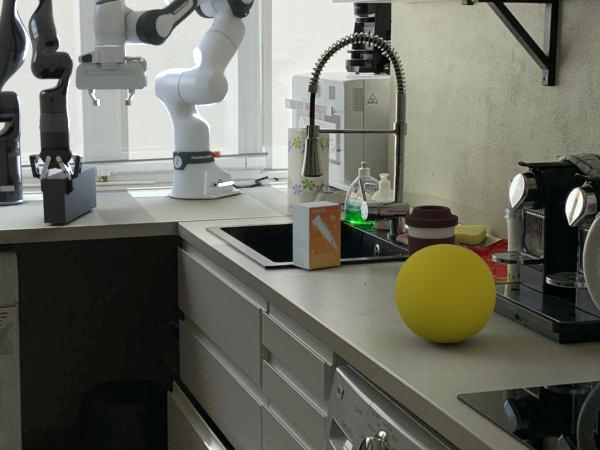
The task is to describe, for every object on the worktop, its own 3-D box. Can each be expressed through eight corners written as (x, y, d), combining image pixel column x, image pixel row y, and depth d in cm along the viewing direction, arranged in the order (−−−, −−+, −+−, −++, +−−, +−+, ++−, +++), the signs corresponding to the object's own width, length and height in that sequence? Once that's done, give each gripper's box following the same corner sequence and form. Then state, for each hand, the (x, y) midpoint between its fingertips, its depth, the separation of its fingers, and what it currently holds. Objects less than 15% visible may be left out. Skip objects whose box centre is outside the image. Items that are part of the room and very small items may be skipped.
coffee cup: (400, 280, 202) (400, 204, 200) (450, 279, 203) (451, 203, 201) (409, 292, 193) (410, 212, 190) (462, 291, 193) (463, 211, 191)
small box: (309, 270, 213) (308, 207, 211) (292, 265, 218) (291, 203, 216) (341, 265, 217) (341, 203, 215) (324, 260, 222) (323, 200, 220)
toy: (462, 323, 171) (464, 233, 168) (512, 348, 157) (515, 250, 154) (379, 333, 165) (379, 240, 163) (423, 359, 151) (424, 258, 149)
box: (65, 223, 271) (63, 178, 269) (44, 223, 271) (41, 178, 269) (96, 206, 298) (94, 166, 296) (76, 206, 299) (75, 166, 297)
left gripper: (86, 128, 273) (88, 192, 276) (32, 128, 275) (35, 192, 278) (77, 131, 266) (80, 196, 269) (22, 130, 267) (25, 196, 270)
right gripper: (149, 56, 298) (150, 104, 300) (79, 56, 300) (81, 105, 302) (143, 56, 292) (145, 106, 294) (72, 57, 294) (74, 106, 296)
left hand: (57, 193), depth 273 cm, fingers closed on box, 5 cm apart
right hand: (112, 105), depth 298 cm, fingers open, 8 cm apart
